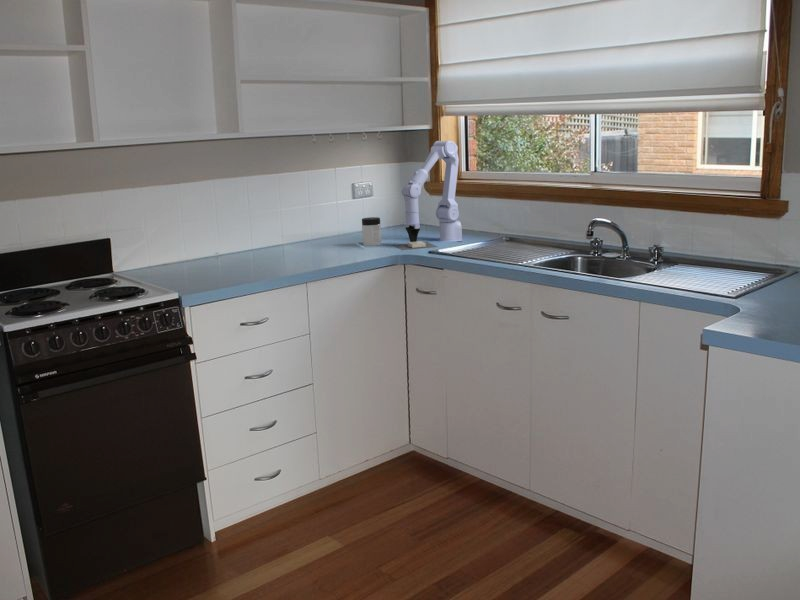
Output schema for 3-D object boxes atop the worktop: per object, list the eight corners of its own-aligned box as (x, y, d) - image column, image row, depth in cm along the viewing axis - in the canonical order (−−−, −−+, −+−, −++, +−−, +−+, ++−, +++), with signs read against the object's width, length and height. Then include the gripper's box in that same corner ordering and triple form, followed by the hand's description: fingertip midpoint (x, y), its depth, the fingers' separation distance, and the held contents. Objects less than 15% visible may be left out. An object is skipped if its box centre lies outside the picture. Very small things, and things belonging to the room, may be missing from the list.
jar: (369, 247, 353) (367, 220, 350) (358, 245, 359) (357, 218, 357) (385, 244, 358) (384, 217, 355) (375, 243, 364) (374, 216, 362)
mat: (426, 243, 357) (426, 241, 357) (438, 248, 342) (438, 246, 342) (392, 246, 353) (392, 244, 353) (402, 251, 338) (402, 250, 338)
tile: (420, 241, 349) (425, 243, 342) (420, 244, 349) (425, 247, 342) (407, 242, 347) (412, 244, 340) (407, 246, 347) (412, 248, 341)
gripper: (398, 211, 352) (400, 241, 355) (407, 214, 338) (409, 246, 341) (414, 209, 353) (415, 240, 356) (423, 213, 340) (425, 245, 343)
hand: (413, 243), depth 349 cm, fingers closed
